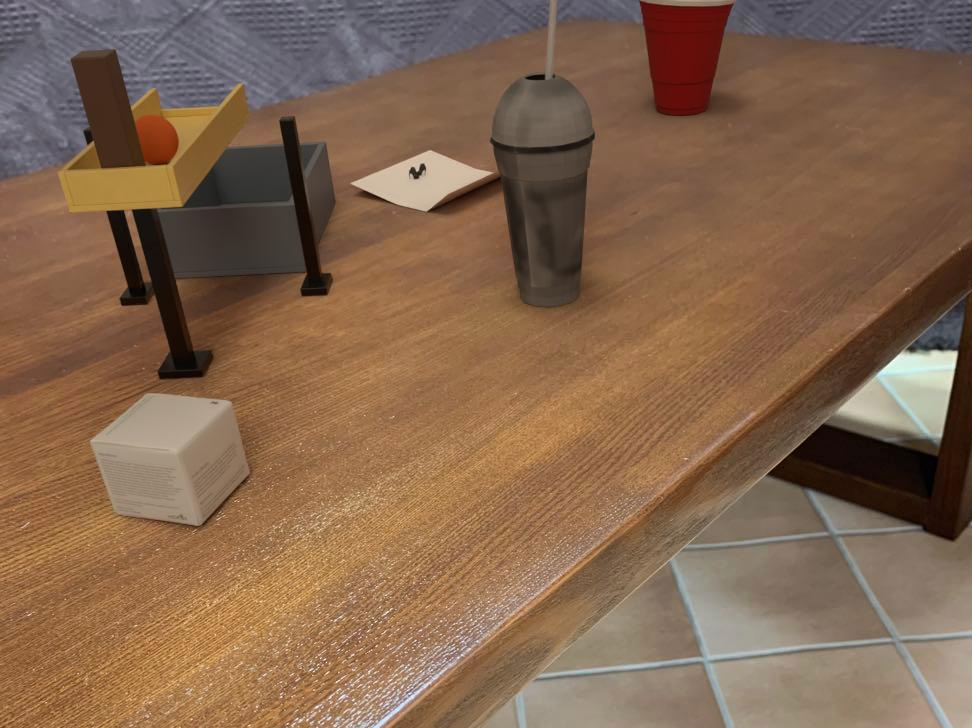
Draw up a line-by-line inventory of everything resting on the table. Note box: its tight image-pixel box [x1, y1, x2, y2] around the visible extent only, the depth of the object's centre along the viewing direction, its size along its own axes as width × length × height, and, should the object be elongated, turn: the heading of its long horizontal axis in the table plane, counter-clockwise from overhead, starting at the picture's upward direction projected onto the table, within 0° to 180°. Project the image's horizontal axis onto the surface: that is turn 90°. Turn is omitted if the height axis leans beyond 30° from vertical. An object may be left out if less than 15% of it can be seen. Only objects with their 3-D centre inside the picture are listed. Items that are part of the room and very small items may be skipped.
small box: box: [89, 392, 251, 527], centre depth 59 cm, size 6×6×5 cm
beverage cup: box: [489, 0, 596, 308], centre depth 75 cm, size 7×7×20 cm
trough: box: [57, 48, 251, 214], centre depth 70 cm, size 20×7×8 cm, turn 1°
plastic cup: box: [638, 0, 738, 116], centre depth 118 cm, size 11×11×12 cm
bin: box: [157, 141, 336, 280], centre depth 92 cm, size 17×11×6 cm, turn 1°
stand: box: [82, 115, 333, 380], centre depth 75 cm, size 16×16×13 cm
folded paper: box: [349, 149, 501, 213], centre depth 102 cm, size 12×12×2 cm
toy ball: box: [135, 115, 179, 164], centre depth 70 cm, size 3×3×3 cm
